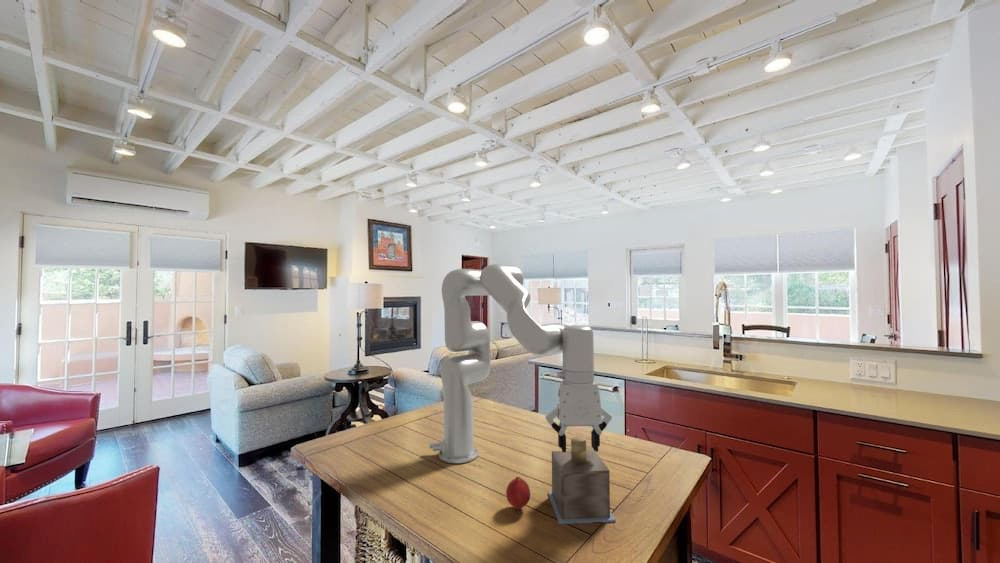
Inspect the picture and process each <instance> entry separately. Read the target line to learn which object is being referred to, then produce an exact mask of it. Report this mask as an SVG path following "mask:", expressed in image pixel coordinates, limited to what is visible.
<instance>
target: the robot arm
mask: <svg viewBox="0 0 1000 563" xmlns="http://www.w3.org/2000/svg"><path fill="white" fill-rule="evenodd" d="M523 285H524V275H523V272H522V271H521V270H520V269H519V268H518V267H516V266H514V265H509V264H507V265H506V264H497V263H496V264H489V265H487V266H485V267H484V268H483V269H473V268H458V269H457V268H456V269H454V270H451V271H450V272H448V273H447V274H446V275H445V277H444V278H443V280H442V285H441V297H442V302H443V308H444V309H443V310H444V312H443V313H444V317H443V318H444V342H445V348H447V350H448V351H450V352H454V353H460V352H461V353H462V352H466V351H468V353H467V354H460V355H456V356H451V357H449V358H447V359H445V360H444V361H443V363H442V364H441V366H440V371H439V372H440V378H441V379H440V380H441V384H442V392H443V394H442V395H443V439H442V440H440V441H439V442H437V441H430V442H429V449H432V451H433V452H438V451H439V452H438V458H439V459H440V460H441V462H442V461H443V462H444V463H449V464H464V463H465V464H466V463H468V462H471V461H473V460H475V459H476V458H478V456H479V449H478V448H477V447H476V446H475V445H474V397H473V393H472V392H471V390H470V388H469V385H470V384H475V383H478V382H481V381H484V380H485V379H487V378H488V376H489V375H490V372H491V371H490V370H491V335H490V332H489V329H488V327H487V326H486V324H485V323H483V322H482V321H478V320H474V321H473V320H471V319H472V318H471V317H472V316H471V306H470V304H469V301H468V300H467V298H466V297H468V296H471V297H472V296H473V297H474V296H477V297H479V296H485V297H486V296H491V297H492V299H494V300H495V302H496V303H497V304H498V305H499V306H500V308H502V310H504V312H505V313H506V321H507V324H508V328H509V330H510V333H511V334H512V336H513V337H514V338H515V340H517V341H518V343H519V344H520V345H521V346H522V347H523V348H524V349H525V350H526V351H527V352H529V353H530V354H532V355H535V356H539V357H540V356H546V355H549V354H554V353H555V354H556V353H560V352H561V353H562V368H561V371H557V372H556V378H559V379H561V380H560V381H559V386H558V393H557V394H558V395H557V403H556V404H557V406H556V407H555V408H554V409H552V410H551V411H550V412H548V414H547V415H545V419H546V421H547V423H548V424H549V425H550V426H551V427H552V429H553V430H554V431H555V432H556V433H557V434H558V435H557V436H558V438H557V439H558V440H557V443H558V448H560V450H561V451H563V452H566V451H567V435H566V434H565V432H566V431H567V429H568V427H592V430H591V432H590V435H591V436H590V442H591V447H592V448H591V449H592V450H594V451H595V452H599V447H600V445H601V443H600V442H601V441H600V440H601V438H600V435H601V434H602V432H603V431H604V430H605V429H606V428H607V426H608V424H609V423H610V422H611V420H612V419H613V416H612V415H611V414H609V412H607V411H606V410H604V409H603V408H602V404H601V403H602V402H601V394H600V388H599V384H598V382H597V381H595V369H594V368H595V367H594V365H595V363H594V362H595V360H594V359H595V358H594V349H595V348H594V345H595V344H594V331H593V329H592V328H591V327H589V326H586V325H568V324H566V323H565V324H564V323H558V322H556V323H555V322H554V323H546V324H545V323H544V324H539V323H538V322H537V321H536V320H535V319H533V317H532V316H531V315H530V314H529V313H528V311H527V310H526V309H527V308H528V306H529V304H530V302H531V294H530V292H529V291H528V290H527V289H526V288H525V287H524V286H523ZM556 417H557V419H558V420H559V422H558V424H557V422H556V421H555V420H554V419H555V418H556Z"/></svg>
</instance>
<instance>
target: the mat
mask: <svg viewBox="0 0 1000 563" xmlns="http://www.w3.org/2000/svg"><path fill="white" fill-rule="evenodd" d="M547 494H548V496H549V499H550V500H549V501H550V503H551V505H552V509H553V511H554V514H555V516H556V520H557V522H558V525H569V524H572V525H573V524H574V523H575V524H576V523H577V524H594V523H593V522H602V523H616V517H615V516H614V514H613V513H612V512H611V510H610V518H584V519H561V516H560V513H559V511H558V508H557V505H556V502H555V500H554V497H553V494H552V490H549V491H548V493H547ZM575 524H574V525H575Z"/></svg>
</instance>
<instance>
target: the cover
mask: <svg viewBox="0 0 1000 563" xmlns="http://www.w3.org/2000/svg"><path fill="white" fill-rule="evenodd" d="M570 440H571V441H570V443H571V444H570V446H571V448H570V450H566V452H563V451H562V450H558V451H557V450H555V451H554V450H552V451H551V491H552V494H553V497H554V500H555V502H556V505H557V508H558V511H559V513H560V516H561V519H584V518H610V511H611V499H610V498H611V496H610V494H611V493H610V490H611V489H610V482H611V481H610V469H609V468H608V466H607V465H606V464H605V462H604V461H603V460H602V458H601V457H600V455H599V454H598V453H597V451H594V449H591V450H589V449H587V439H586V438H584V437H582V436H573V437H571V438H570Z"/></svg>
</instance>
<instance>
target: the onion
mask: <svg viewBox="0 0 1000 563" xmlns="http://www.w3.org/2000/svg"><path fill="white" fill-rule="evenodd" d="M505 491H506V492H505V494H506V495H505V496H506V499H507V500H506V501H507V502H508V503H509V504H510V506H512V507H513V508H515V510H517V511H519V510H522V509H523V507H525V506H526V505H527V504H528V503H529V501H530V498H531V490H530V487H529V484H528V483H527V482H526V481H525V480H524V479H522V477H521V476H520V475H516V477H515V478H514V479H512V480H511V481H510V482H509V483H508V485H507V487H506V490H505Z"/></svg>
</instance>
